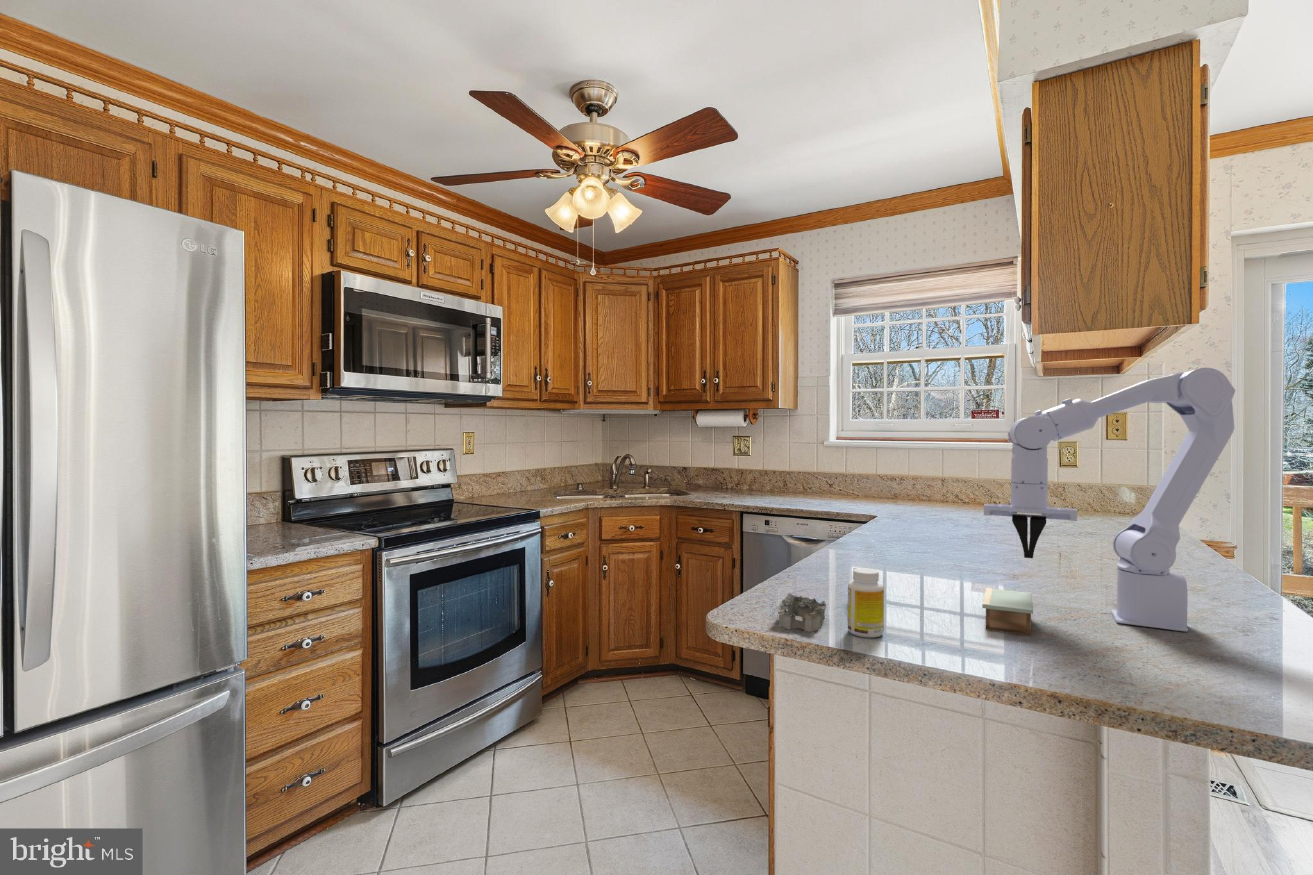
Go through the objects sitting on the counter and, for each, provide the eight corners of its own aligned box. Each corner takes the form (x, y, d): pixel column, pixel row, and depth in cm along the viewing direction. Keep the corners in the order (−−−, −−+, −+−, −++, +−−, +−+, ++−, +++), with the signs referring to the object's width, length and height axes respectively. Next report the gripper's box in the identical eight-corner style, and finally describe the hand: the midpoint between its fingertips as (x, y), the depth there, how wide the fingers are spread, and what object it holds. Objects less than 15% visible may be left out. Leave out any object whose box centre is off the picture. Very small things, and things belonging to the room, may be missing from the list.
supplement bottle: (891, 636, 99) (891, 573, 99) (862, 640, 97) (863, 575, 97) (868, 626, 105) (868, 565, 104) (840, 629, 103) (840, 568, 103)
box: (1029, 616, 110) (1029, 596, 110) (1030, 636, 100) (1030, 613, 100) (988, 611, 113) (988, 591, 113) (985, 629, 103) (985, 608, 103)
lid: (1031, 596, 110) (1031, 592, 110) (1033, 613, 99) (1033, 609, 99) (985, 591, 114) (985, 587, 114) (982, 607, 103) (982, 603, 103)
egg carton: (818, 635, 101) (818, 610, 101) (772, 628, 104) (772, 604, 104) (829, 617, 110) (830, 594, 110) (788, 611, 114) (788, 589, 114)
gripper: (983, 482, 113) (982, 556, 114) (1078, 486, 106) (1078, 565, 106) (985, 480, 120) (984, 550, 120) (1075, 483, 112) (1075, 558, 112)
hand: (1028, 557), depth 113 cm, fingers closed
